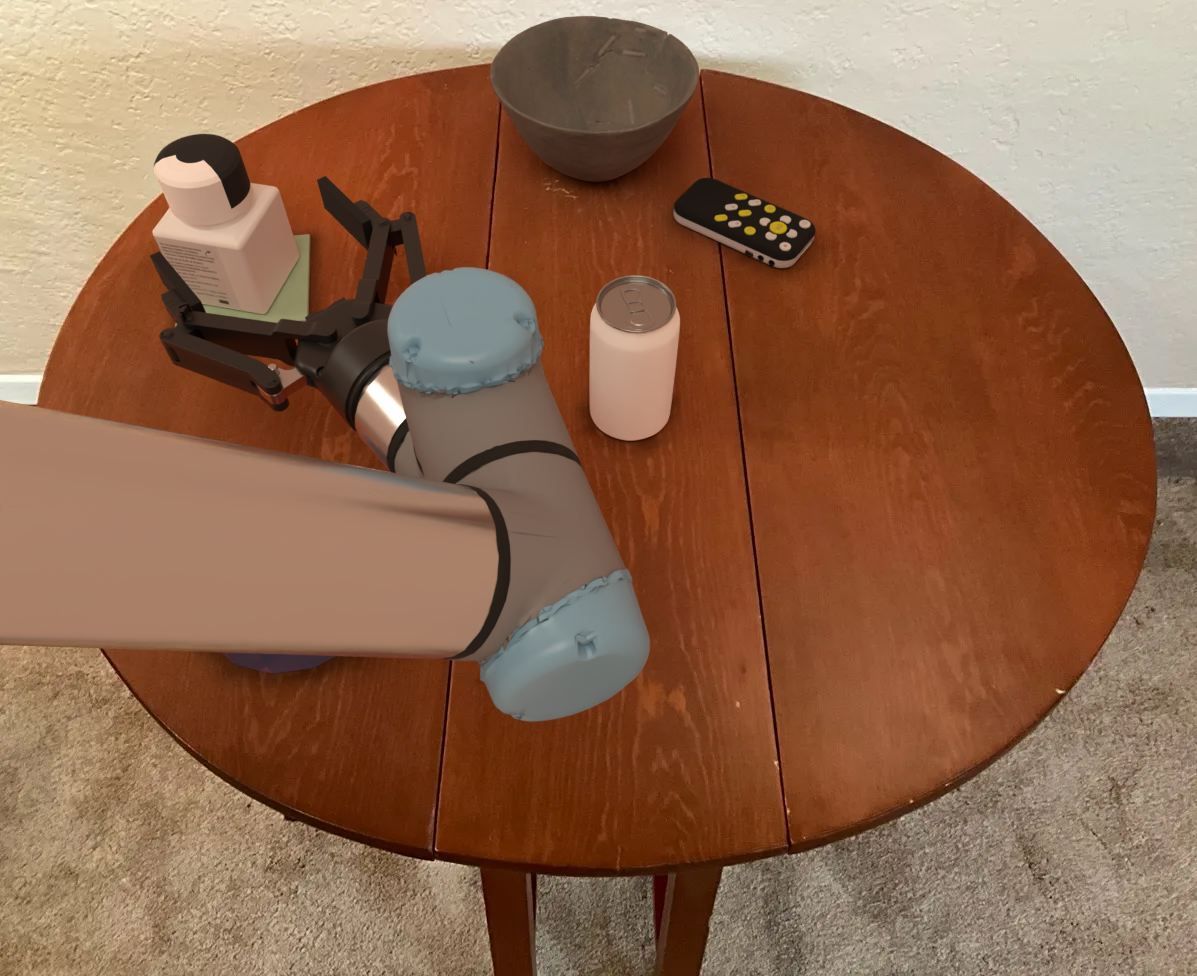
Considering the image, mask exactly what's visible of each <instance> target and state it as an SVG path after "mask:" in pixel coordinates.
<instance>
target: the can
mask: <svg viewBox="0 0 1197 976" xmlns="http://www.w3.org/2000/svg"><path fill="white" fill-rule="evenodd" d="M680 316H681V315H680V312H679V309H678V307H677V300H676V297H675V294H674V293H673V291H672V290H671V288H669V287H668V286H667V285H666V284H665V283H663V282H662V281H661V280H659V279H656V278H653V277H650V276H647V275H639V274H629V275H624V276H623V275H622V276H620V277H617V278H614V279H612V280H610V281H609V282H607V283H606V284H604V285H603V286H602V288H600V290H599V292H598V294H597V296H596V300H595V303H594V305H593V307H592V309H591V313H590V321H589V413H590V417H591V420H592V422H593V423H594V425H595V426H596V428H598V429H599V430H600V431H601V432H603V434H606V435H607V436H609V437H611V438H614V439H618V440H621V441H629V442H632V441H640V440H644V439H647V438H649V437H652V436H654V435H656V434H657V433H659V432H660V431H661V430H662V429H663V428H664V427H665V426H666V425H667V423H668V422H669V419H670V416H671V409H672V401H673V393H674V385H675V377H676V368H677V359H678V350H679V341H680V330H681V317H680Z"/></svg>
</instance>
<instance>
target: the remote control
mask: <svg viewBox="0 0 1197 976" xmlns="http://www.w3.org/2000/svg"><path fill="white" fill-rule="evenodd" d="M672 212H673V213H672V214H673V217H674V220H675V221H676V222H677V223H678V224H679V225H681V226H683V227H685V228H687V229H690V230H692V231H694V232H696V233H698V234H701V235H702V236H704V237H707V238H709V239H712V240H714V241H716V242H718V243H720V244H721V245H725V246H727V247H729V248H731V249H733V250H735V251H738V252H740V253H742V254H744V255H746V256H749V257H751V258H753V259H756V260H757V261H760V262H762V263H764V264H766V265H769V266H771V267H773V268H777V269H787V268H790V267H792V266H793V265H795V264H796V262H797V261H798V260H799V259H800V258H801V256H803V254H804V253H805V252H806V251H807V249H808V248H809V247H810V246H811V245H812V243H813V242H814V240H815V236H816V227H815V225H814V223H813V222H812V221H811V220H810V219H808V218H807V217H804V216H802V215H799V214H797V213H795V212H792V211H790V210H789V209H785V208H783V207H781V206H778V205H776V204H774V203H771V202H769V201H767V200H765V199H762V198H760V197H758V196H756V195H754V194H751V193H748V192H746V191H744V190H742V189H739V188H737V187H734V186H732V185H730V184H728V183H725V182H723V181H721V180H718V179H716V178H713V177H701V178H699V179H697V180H696V181H694V182H693V183H692V184H691V185H690V187H688V189H686V190H685V191H684V192H683V193H682V194H681V195H680V196H679V197H678V198H677V199H676V200H675V202H674V206H673V211H672Z"/></svg>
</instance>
